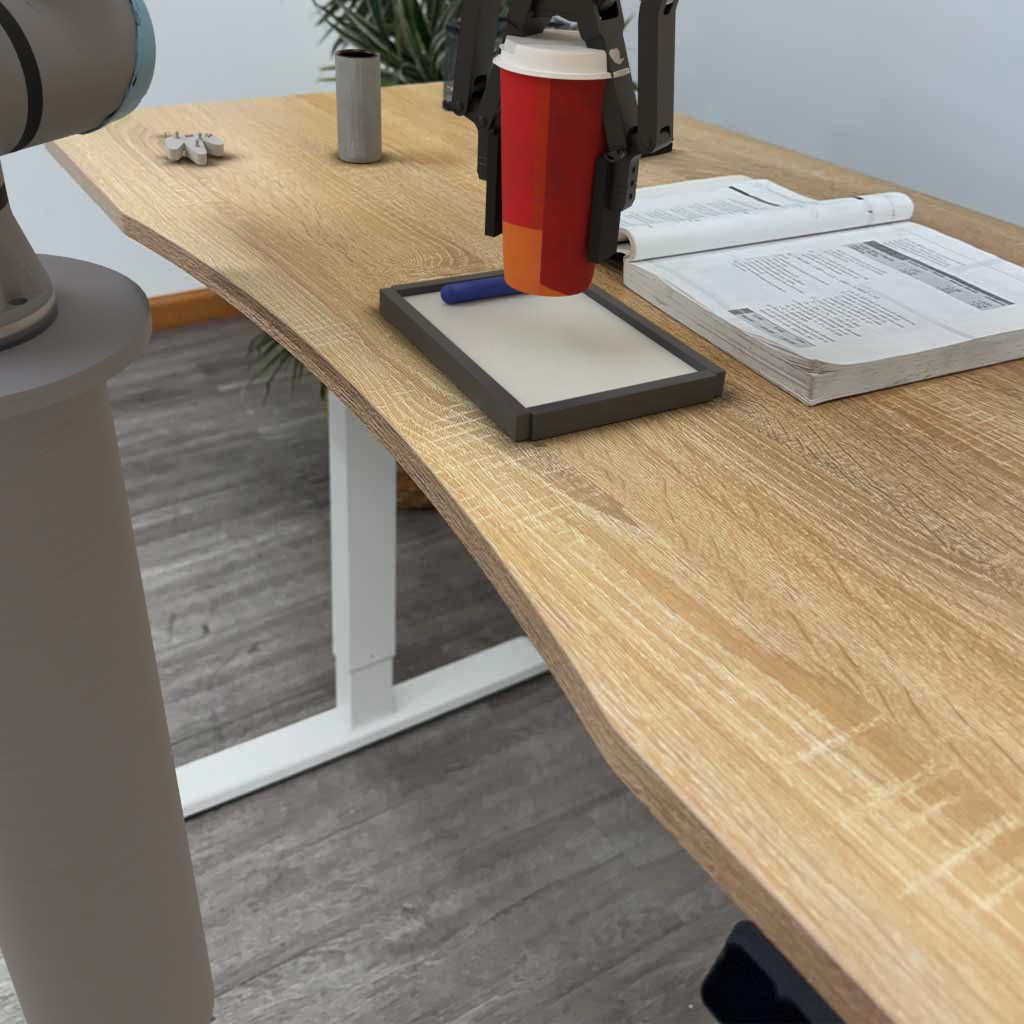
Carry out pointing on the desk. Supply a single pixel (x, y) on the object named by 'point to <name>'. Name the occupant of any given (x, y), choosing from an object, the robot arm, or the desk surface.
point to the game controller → (193, 146)
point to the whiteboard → (548, 354)
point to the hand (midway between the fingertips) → (549, 243)
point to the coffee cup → (550, 158)
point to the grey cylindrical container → (358, 105)
